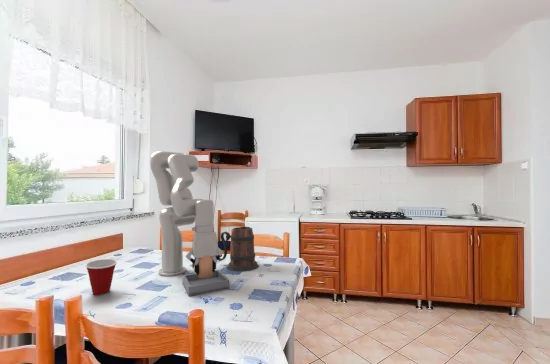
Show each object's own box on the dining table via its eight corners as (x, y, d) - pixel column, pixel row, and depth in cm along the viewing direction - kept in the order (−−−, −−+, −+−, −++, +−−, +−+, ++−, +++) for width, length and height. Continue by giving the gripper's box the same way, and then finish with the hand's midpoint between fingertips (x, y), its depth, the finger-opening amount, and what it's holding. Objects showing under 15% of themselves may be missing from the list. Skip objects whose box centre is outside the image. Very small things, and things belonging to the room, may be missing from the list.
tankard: (263, 263, 147) (263, 226, 148) (252, 272, 131) (251, 231, 132) (223, 260, 154) (223, 224, 154) (208, 269, 138) (208, 229, 138)
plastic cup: (93, 300, 102) (93, 267, 102) (79, 294, 107) (79, 263, 108) (122, 290, 111) (122, 260, 111) (108, 285, 117) (108, 257, 117)
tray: (182, 283, 118) (182, 275, 118) (219, 277, 125) (218, 269, 125) (188, 296, 104) (188, 287, 104) (229, 288, 111) (229, 280, 111)
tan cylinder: (196, 275, 116) (196, 253, 116) (210, 273, 118) (210, 252, 119) (199, 279, 110) (199, 256, 110) (214, 277, 113) (214, 254, 113)
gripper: (184, 232, 108) (185, 278, 107) (227, 228, 115) (228, 271, 115) (181, 230, 114) (182, 273, 114) (222, 226, 122) (223, 267, 122)
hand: (205, 272), depth 114 cm, fingers closed on tan cylinder, 6 cm apart
